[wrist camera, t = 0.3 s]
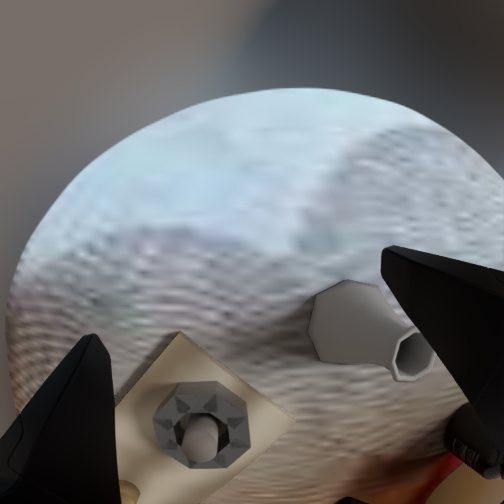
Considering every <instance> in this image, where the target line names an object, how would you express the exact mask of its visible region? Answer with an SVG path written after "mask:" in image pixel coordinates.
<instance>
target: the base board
mask: <svg viewBox="0 0 504 504" xmlns="http://www.w3.org/2000/svg"><path fill="white" fill-rule="evenodd" d="M200 381H218V382H220V383H221V384H222V385H224V386H225V387H226V388H228V389H229V390H230V391H232V392H233V393H235V394H236V395H237V396H239V397H240V398H242V399H243V400H244V401H246V403H247V412H248V422H249V431H250V441H251V448H250V449H249V450H248V451H246V452H245V453H244V454H243V455H242V456H241V457H240V458H238V459H237V460H236V461H235V462H234V463H232V464H231V465H230V466H229V467H228V468H220V469H189V468H188V467H186V466H184V465H183V464H181V463H180V462H178V461H177V460H175V459H173V458H172V457H170V456H169V455H167V454H166V453H164V452H163V451H161V450H160V449H159V445H158V442H157V438H156V434H155V430H154V426H153V421H152V418H153V416H154V414H155V412H156V410H157V408H158V406H159V404H160V403H161V402H162V401H163V400H164V399H165V398H166V397H167V396H168V395H169V394H170V392H171V391H172V390H173V389H174V388H175V387H176V386H177V385H178V384H179V383H180V382H200ZM296 422H297V421H296V419H295V416H293V415H292V414H290V413H289V412H287V411H286V410H284V409H283V408H281V407H280V406H278V405H277V404H275V403H274V402H272V401H271V400H270V399H268V398H267V397H265V396H264V395H262V394H261V393H260V392H258V391H257V390H255V389H254V388H253V387H251V386H250V385H249V384H247V383H246V382H244V381H243V380H242V379H240V378H239V377H238V376H236V375H235V374H234V373H232V372H231V371H230V370H228V369H227V368H226V367H225V366H223V365H222V364H221V363H219V362H218V361H217V360H216V359H214V358H213V357H212V356H210V355H209V354H208V353H207V352H205V351H204V350H203V349H202V348H200V347H199V346H198V345H197V344H196V343H194V342H193V341H192V340H191V339H190V338H188V337H187V336H186V335H185V334H184V333H182V332H181V331H180V332H179V333H178V334H177V336H176V337H175V338H174V339H173V340H172V342H171V343H170V344H169V345H168V346H167V347H166V349H165V350H164V351H163V352H162V353H161V354H160V356H159V357H158V358H157V359H156V360H155V361H154V363H153V364H152V365H151V366H150V367H149V369H148V370H147V371H146V372H145V373H144V374H143V376H142V377H141V378H140V379H139V380H138V381H137V383H136V384H135V385H134V386H133V387H132V389H131V390H130V391H129V392H128V393H127V394H126V396H125V397H124V398H123V399H122V400H121V401H120V403H119V404H118V405H117V406H116V407H115V430H116V450H117V464H118V475H119V485H120V494H121V501H122V504H199V503H200V502H202V501H203V500H204V499H206V498H207V497H209V496H210V495H211V494H213V493H214V492H215V491H217V490H218V489H219V488H221V487H222V486H223V485H225V484H226V483H227V482H229V481H230V480H231V479H232V478H234V477H235V476H236V475H237V474H239V473H240V472H241V471H242V470H244V469H245V468H246V467H247V466H248V465H250V464H251V463H252V462H253V461H254V460H256V459H257V458H258V457H259V456H260V455H261V454H263V453H264V452H265V451H266V450H267V449H268V448H269V447H270V446H272V445H273V444H274V443H275V442H276V441H277V440H278V439H279V438H280V437H281V436H282V435H283V434H285V433H286V432H287V431H288V430H289V429H290V428H291V427H292V426H293V425H294V424H295V423H296ZM180 423H181V428H182V429H184V430H185V435H184V439H183V442H182V452H183V453H184V455H185V456H186V457H187V458H189V459H190V460H193V461H196V462H207V461H210V460H212V459H213V458H214V457H215V456H216V454H217V444H218V437H220V436H221V435H222V434H223V433H224V432H225V431H226V430H227V429H228V425H227V424H225V423H224V422H222V421H221V420H219V419H218V418H217V417H215V416H214V415H212V414H211V413H209V412H208V413H186V414H185V415H184V416H183V417H182V418H181V419H180Z"/></svg>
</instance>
